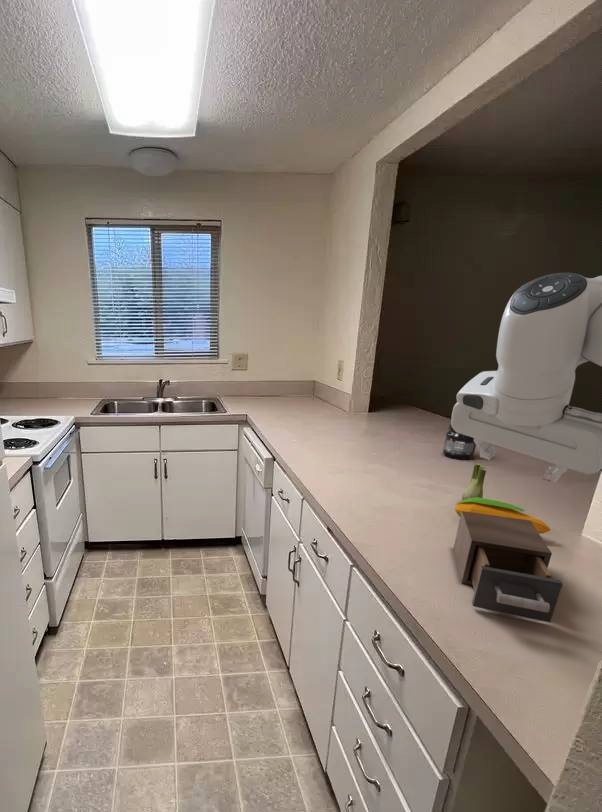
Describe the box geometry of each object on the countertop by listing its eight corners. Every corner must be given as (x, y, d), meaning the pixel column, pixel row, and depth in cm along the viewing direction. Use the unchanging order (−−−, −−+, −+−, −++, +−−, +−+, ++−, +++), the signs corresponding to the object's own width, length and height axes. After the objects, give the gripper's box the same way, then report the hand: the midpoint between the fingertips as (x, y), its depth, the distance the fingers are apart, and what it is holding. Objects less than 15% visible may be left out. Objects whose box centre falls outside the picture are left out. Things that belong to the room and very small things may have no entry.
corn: (462, 487, 116) (557, 508, 103) (457, 512, 119) (548, 535, 106) (454, 497, 111) (553, 520, 98) (449, 523, 114) (544, 548, 101)
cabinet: (538, 598, 83) (552, 553, 79) (461, 583, 88) (471, 540, 84) (519, 560, 96) (530, 520, 92) (453, 549, 100) (461, 510, 97)
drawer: (558, 638, 71) (572, 598, 68) (476, 620, 75) (486, 582, 73) (529, 581, 87) (539, 546, 84) (462, 568, 91) (470, 535, 88)
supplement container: (462, 451, 172) (468, 422, 168) (479, 459, 162) (487, 428, 158) (436, 452, 171) (442, 422, 167) (452, 460, 162) (459, 429, 157)
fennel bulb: (479, 510, 120) (489, 469, 116) (459, 505, 123) (468, 466, 119) (481, 503, 125) (491, 463, 121) (462, 499, 128) (470, 460, 123)
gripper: (637, 405, 54) (609, 481, 63) (470, 369, 69) (466, 435, 78) (610, 434, 52) (585, 508, 61) (446, 391, 67) (444, 456, 76)
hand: (517, 467), depth 69 cm, fingers open, 8 cm apart
